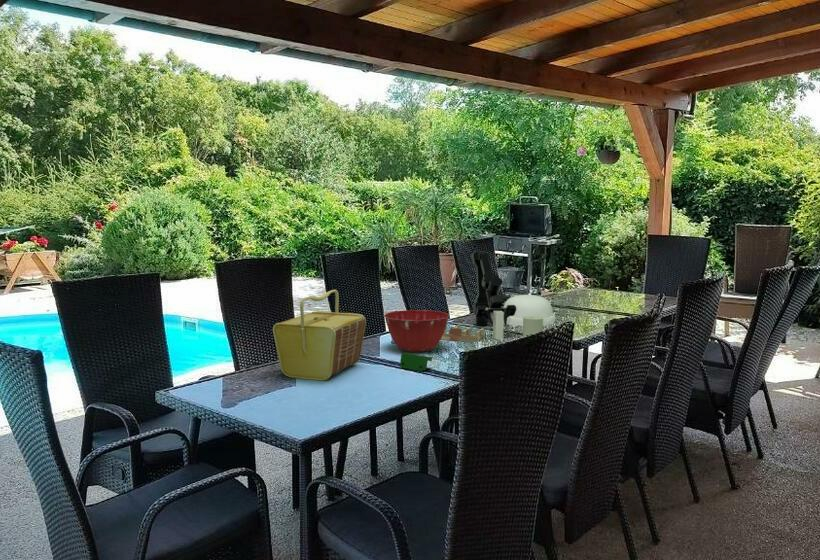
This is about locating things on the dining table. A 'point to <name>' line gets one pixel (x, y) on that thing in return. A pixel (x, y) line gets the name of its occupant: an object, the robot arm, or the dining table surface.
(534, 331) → the can
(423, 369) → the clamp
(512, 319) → the dome cover
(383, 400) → the dining table surface
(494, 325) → the tall off-white box
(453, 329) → the rack
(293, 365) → the picnic basket
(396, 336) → the mixing bowl
